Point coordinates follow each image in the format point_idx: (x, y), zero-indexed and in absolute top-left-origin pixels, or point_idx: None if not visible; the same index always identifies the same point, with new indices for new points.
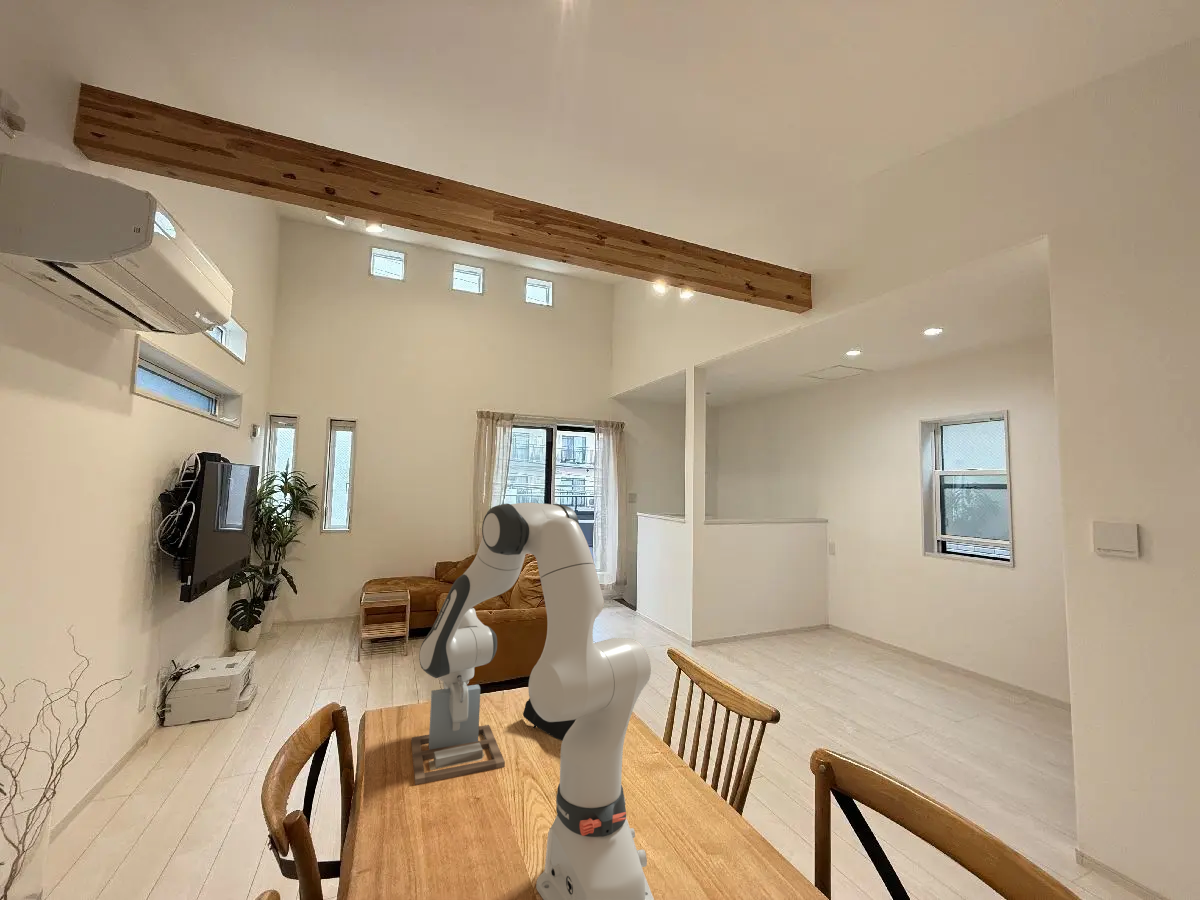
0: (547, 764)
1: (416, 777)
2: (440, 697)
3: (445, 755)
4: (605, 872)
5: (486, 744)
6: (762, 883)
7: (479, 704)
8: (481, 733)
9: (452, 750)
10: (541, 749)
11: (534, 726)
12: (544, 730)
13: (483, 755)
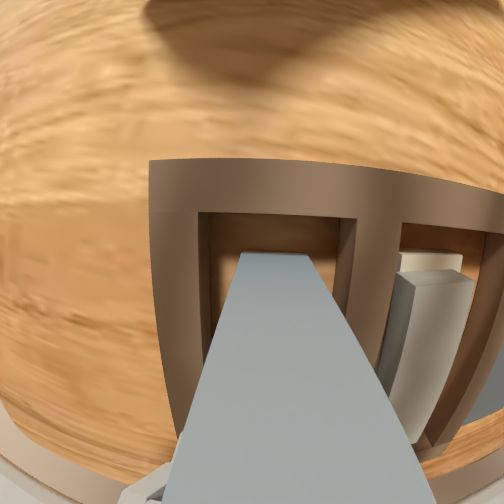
0: (492, 53)
1: (435, 456)
2: None
3: (416, 423)
4: None
5: (397, 233)
6: None
7: (414, 455)
8: (202, 217)
9: (402, 407)
10: (408, 7)
11: None
12: None
13: (438, 260)
